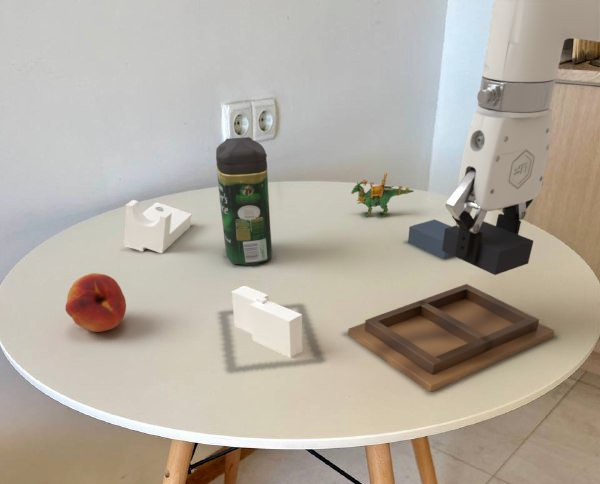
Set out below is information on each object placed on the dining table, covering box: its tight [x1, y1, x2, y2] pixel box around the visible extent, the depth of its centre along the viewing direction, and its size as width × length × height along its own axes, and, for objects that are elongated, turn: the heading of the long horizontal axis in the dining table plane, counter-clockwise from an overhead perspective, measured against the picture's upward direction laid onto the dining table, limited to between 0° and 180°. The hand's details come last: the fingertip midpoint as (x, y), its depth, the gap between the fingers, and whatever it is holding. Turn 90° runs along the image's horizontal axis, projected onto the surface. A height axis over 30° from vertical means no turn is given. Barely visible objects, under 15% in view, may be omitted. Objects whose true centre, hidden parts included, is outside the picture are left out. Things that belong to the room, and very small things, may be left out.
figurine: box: [351, 172, 415, 218], centre depth 114 cm, size 3×12×8 cm, turn 87°
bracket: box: [123, 199, 193, 254], centre depth 106 cm, size 13×7×8 cm, turn 166°
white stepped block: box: [231, 285, 303, 359], centre depth 78 cm, size 15×11×6 cm
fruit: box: [65, 272, 127, 333], centre depth 80 cm, size 8×8×8 cm
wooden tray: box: [347, 283, 555, 393], centre depth 78 cm, size 16×22×2 cm
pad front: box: [407, 219, 454, 260], centre depth 102 cm, size 9×6×3 cm, turn 33°
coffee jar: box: [215, 136, 273, 266], centre depth 96 cm, size 10×8×19 cm
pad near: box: [442, 220, 534, 276], centre depth 74 cm, size 9×6×3 cm, turn 33°
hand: (485, 252), depth 75 cm, fingers closed on pad near, 6 cm apart
